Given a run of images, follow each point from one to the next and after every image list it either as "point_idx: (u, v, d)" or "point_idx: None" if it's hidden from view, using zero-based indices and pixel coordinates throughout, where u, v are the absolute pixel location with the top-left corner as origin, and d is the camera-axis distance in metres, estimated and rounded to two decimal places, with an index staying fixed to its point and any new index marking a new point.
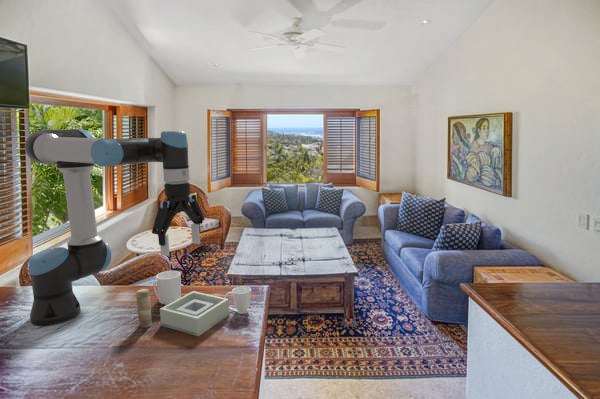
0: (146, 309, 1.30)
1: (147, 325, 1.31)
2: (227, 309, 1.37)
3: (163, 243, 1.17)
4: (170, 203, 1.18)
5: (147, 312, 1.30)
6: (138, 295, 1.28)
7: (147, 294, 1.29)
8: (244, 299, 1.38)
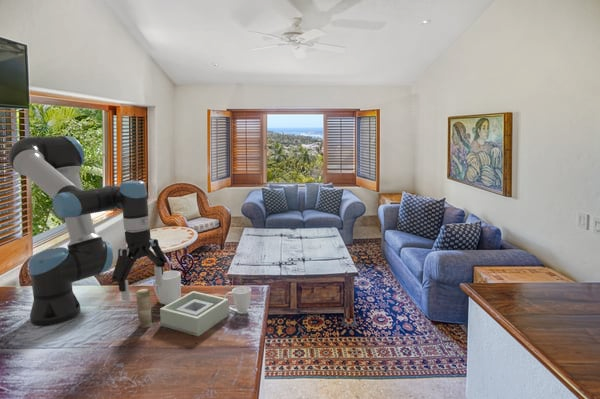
0: (146, 309, 1.30)
1: (147, 325, 1.31)
2: (227, 309, 1.37)
3: (123, 289, 1.22)
4: (130, 250, 1.23)
5: (147, 312, 1.30)
6: (138, 295, 1.28)
7: (147, 294, 1.29)
8: (244, 299, 1.38)
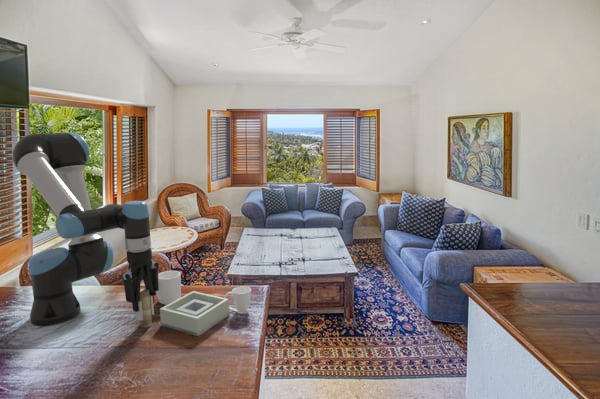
0: (146, 309, 1.30)
1: (147, 325, 1.31)
2: (227, 309, 1.37)
3: (137, 309, 1.28)
4: (132, 271, 1.25)
5: (147, 312, 1.30)
6: None
7: (147, 294, 1.29)
8: (244, 299, 1.38)
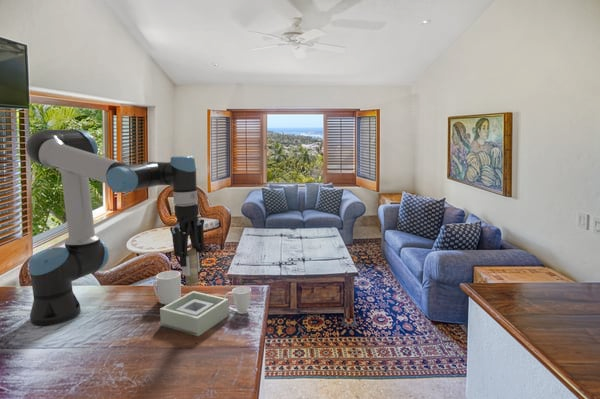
0: (193, 267, 1.30)
1: (194, 284, 1.31)
2: (227, 309, 1.37)
3: (184, 264, 1.28)
4: (180, 225, 1.25)
5: (194, 270, 1.30)
6: None
7: (194, 252, 1.30)
8: (244, 299, 1.38)
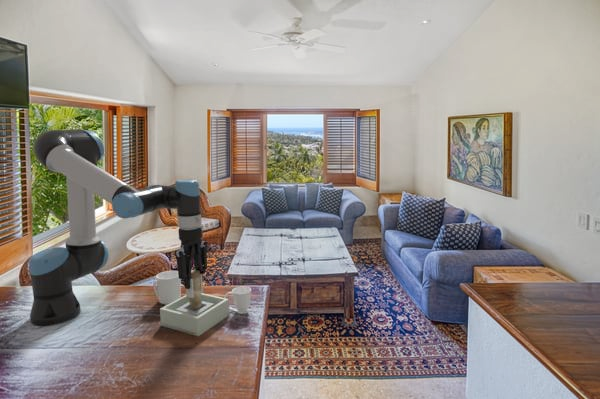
0: (197, 289, 1.31)
1: (198, 305, 1.32)
2: (227, 309, 1.37)
3: (188, 287, 1.30)
4: (184, 249, 1.27)
5: (198, 292, 1.32)
6: None
7: (198, 275, 1.31)
8: (244, 299, 1.38)
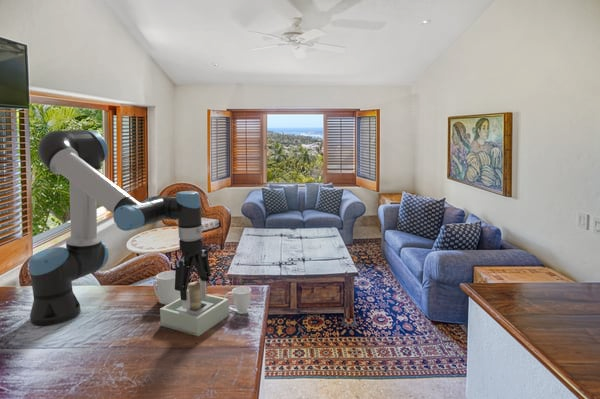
0: (197, 301, 1.32)
1: None
2: (227, 309, 1.37)
3: (184, 298, 1.28)
4: (185, 260, 1.27)
5: (198, 304, 1.33)
6: (190, 288, 1.31)
7: (198, 287, 1.32)
8: (244, 299, 1.38)
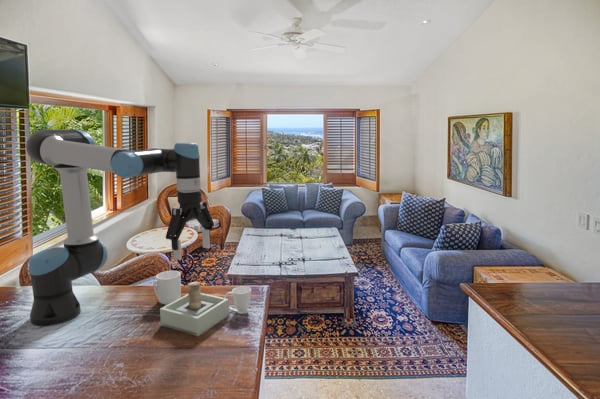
0: (197, 301, 1.32)
1: None
2: (227, 309, 1.37)
3: (176, 248, 1.25)
4: (182, 210, 1.26)
5: (198, 304, 1.33)
6: (190, 288, 1.31)
7: (198, 287, 1.32)
8: (244, 299, 1.38)
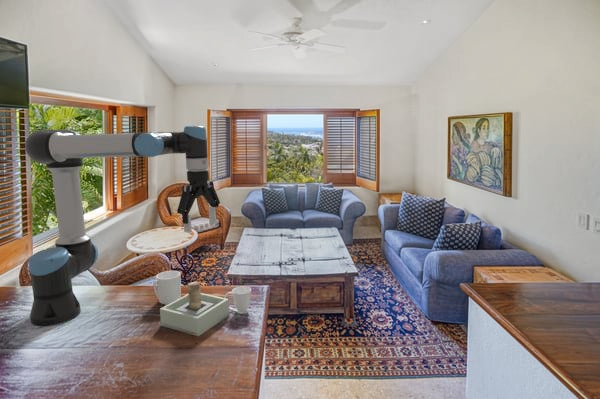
0: (197, 301, 1.32)
1: None
2: (227, 309, 1.37)
3: (186, 221, 1.37)
4: (192, 187, 1.38)
5: (198, 304, 1.33)
6: (190, 288, 1.31)
7: (198, 287, 1.32)
8: (244, 299, 1.38)
